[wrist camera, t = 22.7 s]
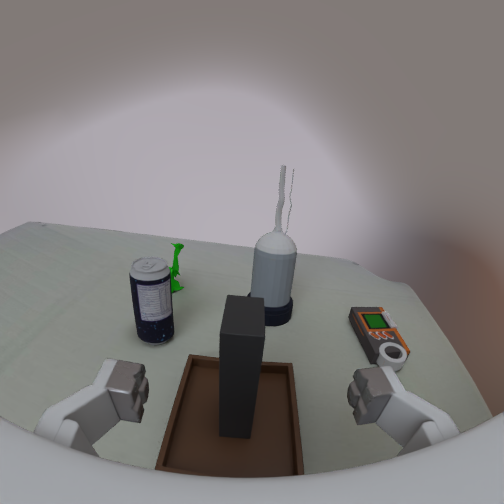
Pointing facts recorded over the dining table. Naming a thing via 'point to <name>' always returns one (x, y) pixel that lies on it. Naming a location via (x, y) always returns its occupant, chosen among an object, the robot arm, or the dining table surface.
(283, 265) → the humidifier
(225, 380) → the tall dark grey prism
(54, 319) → the dining table surface
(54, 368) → the dining table surface
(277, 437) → the tray
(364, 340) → the electronic device
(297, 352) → the dining table surface
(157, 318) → the beverage can
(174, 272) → the figurine
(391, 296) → the dining table surface
